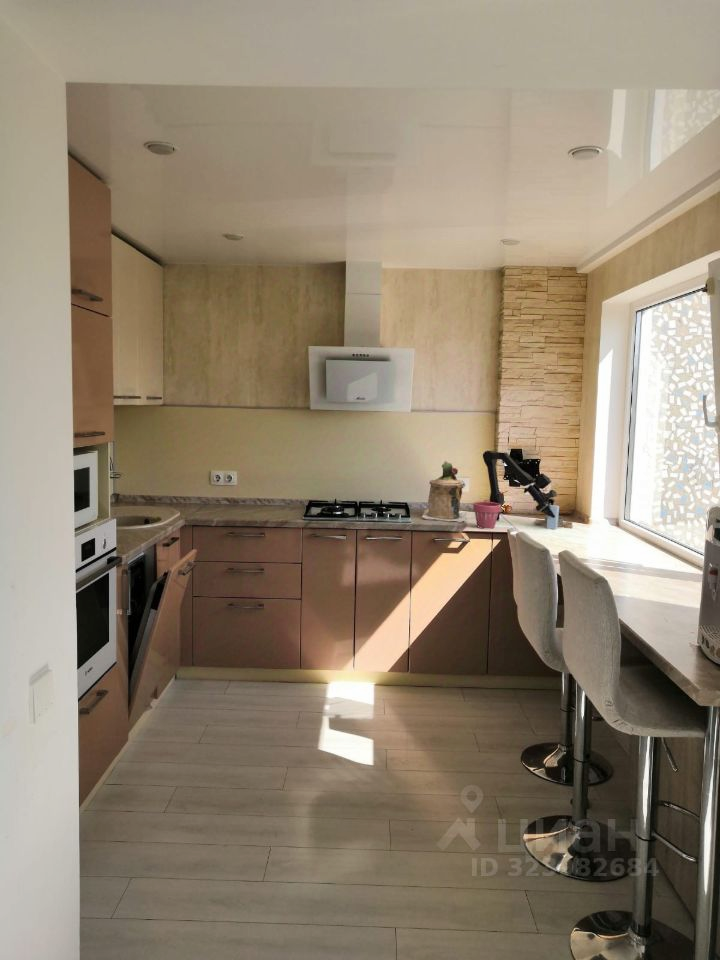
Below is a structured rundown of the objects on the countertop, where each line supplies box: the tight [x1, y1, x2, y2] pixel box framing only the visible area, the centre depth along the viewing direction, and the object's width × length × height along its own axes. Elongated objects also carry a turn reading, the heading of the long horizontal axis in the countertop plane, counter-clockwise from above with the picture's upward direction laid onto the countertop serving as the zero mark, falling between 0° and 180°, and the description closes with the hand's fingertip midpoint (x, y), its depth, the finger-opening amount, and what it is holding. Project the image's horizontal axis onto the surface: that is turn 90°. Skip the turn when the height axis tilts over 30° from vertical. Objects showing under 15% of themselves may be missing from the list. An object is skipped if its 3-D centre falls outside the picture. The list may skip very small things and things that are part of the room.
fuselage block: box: [546, 504, 560, 530], centre depth 403 cm, size 5×5×12 cm
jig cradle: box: [534, 514, 573, 529], centre depth 415 cm, size 20×13×4 cm, turn 76°
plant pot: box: [472, 501, 501, 529], centre depth 397 cm, size 14×14×13 cm
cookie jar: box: [421, 460, 468, 522], centre depth 420 cm, size 25×25×32 cm
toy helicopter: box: [483, 490, 513, 514], centre depth 446 cm, size 8×21×14 cm, turn 123°
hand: (555, 516), depth 402 cm, fingers closed on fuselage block, 5 cm apart
